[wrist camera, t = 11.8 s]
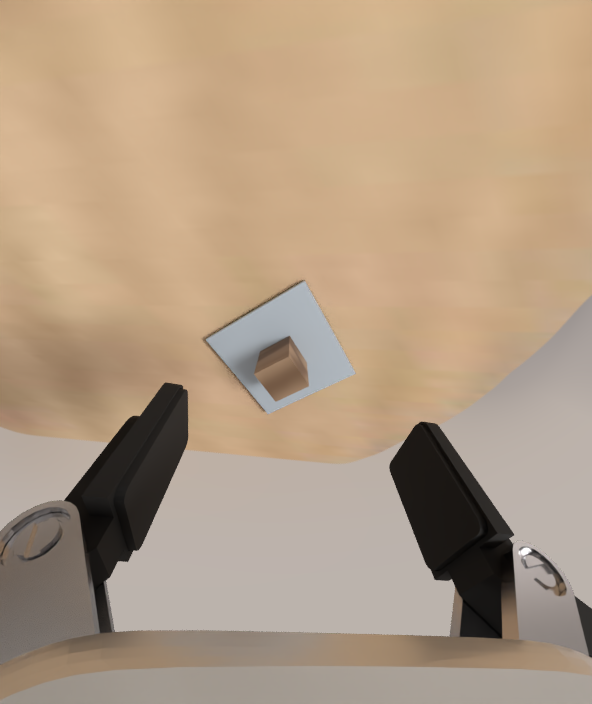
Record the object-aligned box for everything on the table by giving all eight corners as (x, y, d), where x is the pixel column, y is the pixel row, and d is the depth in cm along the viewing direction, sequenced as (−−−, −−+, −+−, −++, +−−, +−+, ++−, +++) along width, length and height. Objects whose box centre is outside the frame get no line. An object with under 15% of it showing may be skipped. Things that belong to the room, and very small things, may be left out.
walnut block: (260, 351, 34) (253, 374, 29) (289, 335, 33) (288, 356, 28) (278, 376, 36) (275, 401, 31) (306, 362, 35) (309, 386, 30)
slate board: (207, 337, 34) (205, 339, 33) (304, 279, 31) (304, 281, 30) (268, 410, 41) (268, 414, 40) (354, 370, 37) (355, 373, 36)
